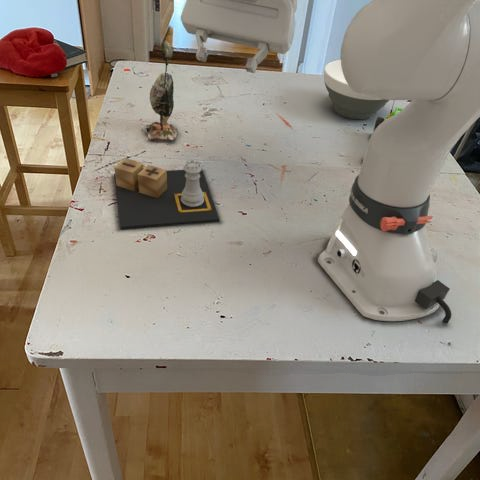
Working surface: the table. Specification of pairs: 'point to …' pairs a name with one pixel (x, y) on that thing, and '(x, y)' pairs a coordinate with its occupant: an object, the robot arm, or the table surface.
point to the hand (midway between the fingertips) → (224, 65)
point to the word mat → (164, 205)
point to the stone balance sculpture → (163, 101)
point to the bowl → (348, 95)
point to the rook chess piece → (192, 185)
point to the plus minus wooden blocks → (141, 177)
